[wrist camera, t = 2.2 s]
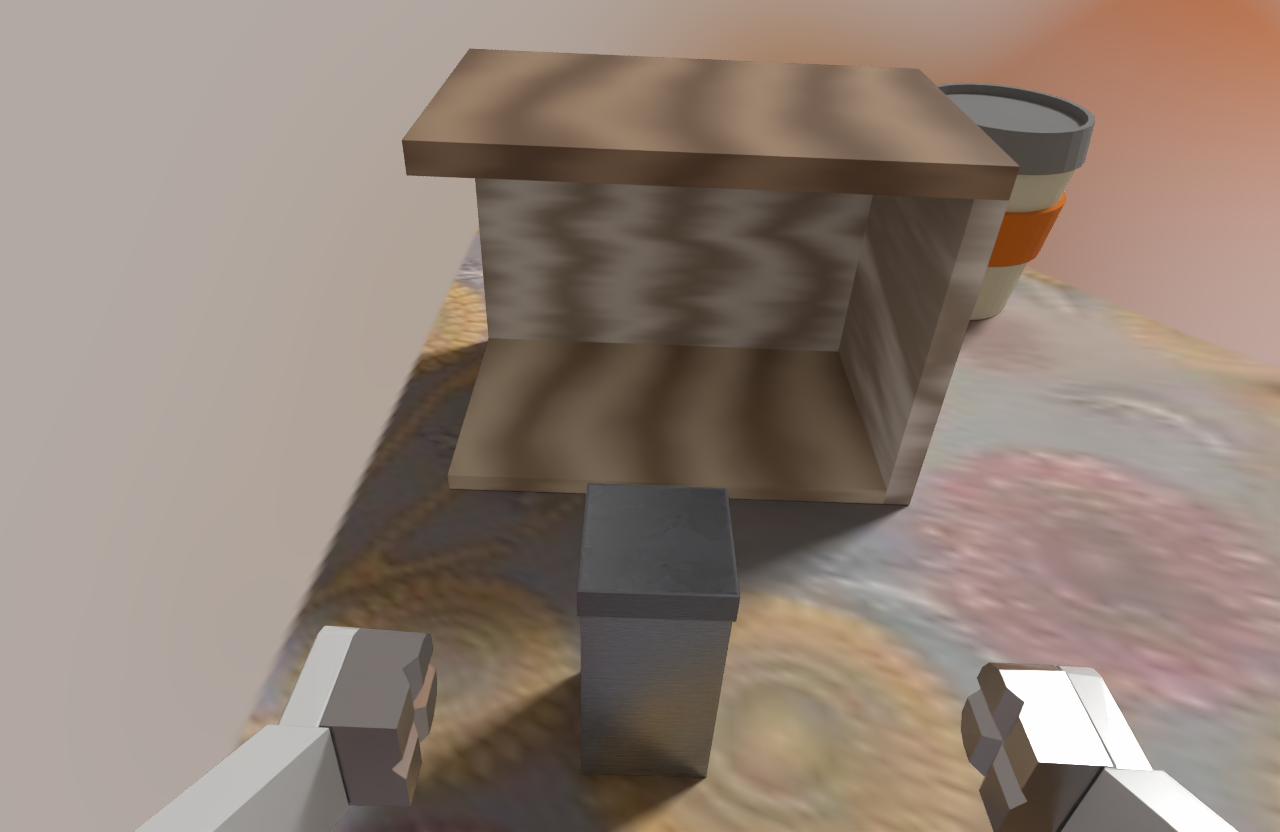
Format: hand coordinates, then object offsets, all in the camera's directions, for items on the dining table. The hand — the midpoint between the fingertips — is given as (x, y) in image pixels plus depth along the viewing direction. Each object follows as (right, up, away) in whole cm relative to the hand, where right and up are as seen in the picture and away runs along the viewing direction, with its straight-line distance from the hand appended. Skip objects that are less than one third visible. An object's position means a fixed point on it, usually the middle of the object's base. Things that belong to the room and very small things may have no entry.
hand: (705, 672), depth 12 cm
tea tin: (-1, -9, +22) cm, 24 cm away
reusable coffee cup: (+24, +14, +55) cm, 62 cm away
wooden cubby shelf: (+1, +4, +40) cm, 40 cm away
